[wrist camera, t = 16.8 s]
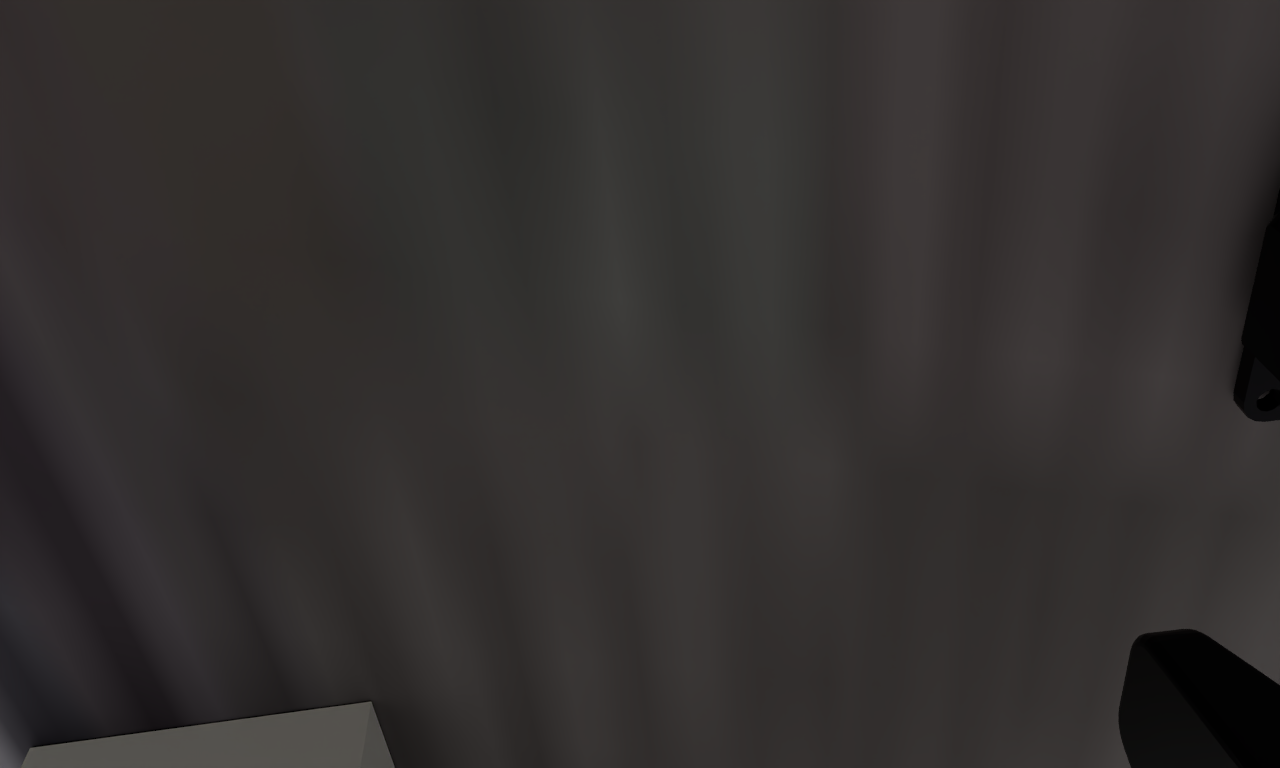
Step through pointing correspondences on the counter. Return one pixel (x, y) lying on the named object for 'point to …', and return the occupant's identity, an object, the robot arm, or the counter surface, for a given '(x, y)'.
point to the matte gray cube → (237, 744)
